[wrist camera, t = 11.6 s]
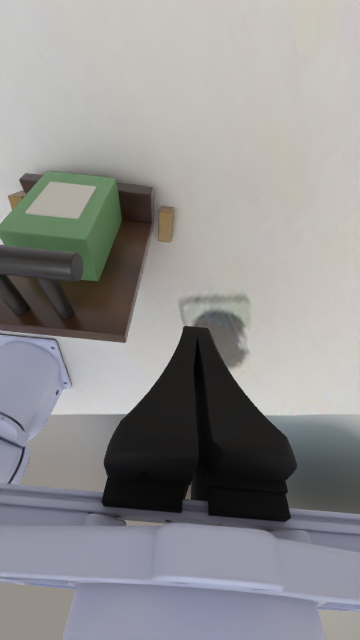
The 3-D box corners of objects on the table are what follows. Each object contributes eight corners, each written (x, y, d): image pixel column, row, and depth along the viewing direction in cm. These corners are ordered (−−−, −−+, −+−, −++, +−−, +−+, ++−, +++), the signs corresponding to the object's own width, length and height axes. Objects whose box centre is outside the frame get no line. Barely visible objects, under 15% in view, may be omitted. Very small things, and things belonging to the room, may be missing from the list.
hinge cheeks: (172, 235, 20) (170, 242, 19) (29, 220, 20) (17, 226, 18) (173, 207, 18) (172, 213, 17) (20, 191, 18) (7, 195, 17)
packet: (98, 282, 14) (85, 237, 12) (23, 274, 14) (-7, 227, 11) (122, 219, 18) (116, 175, 15) (62, 213, 18) (46, 168, 15)
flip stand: (125, 343, 13) (110, 278, 9) (-42, 326, 13) (-136, 253, 9) (154, 224, 19) (152, 155, 15) (42, 213, 19) (10, 140, 15)
